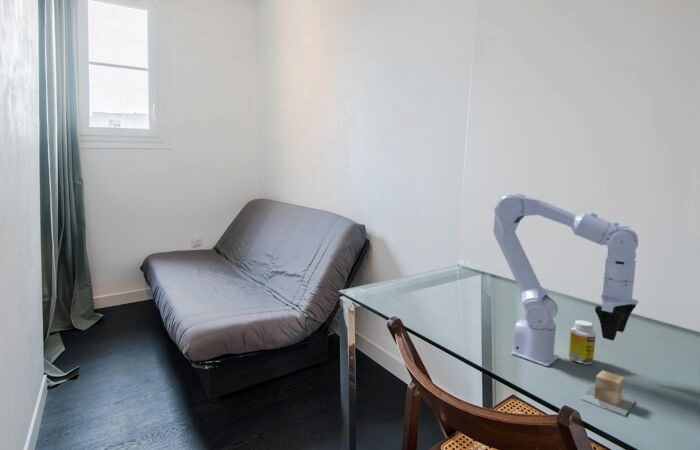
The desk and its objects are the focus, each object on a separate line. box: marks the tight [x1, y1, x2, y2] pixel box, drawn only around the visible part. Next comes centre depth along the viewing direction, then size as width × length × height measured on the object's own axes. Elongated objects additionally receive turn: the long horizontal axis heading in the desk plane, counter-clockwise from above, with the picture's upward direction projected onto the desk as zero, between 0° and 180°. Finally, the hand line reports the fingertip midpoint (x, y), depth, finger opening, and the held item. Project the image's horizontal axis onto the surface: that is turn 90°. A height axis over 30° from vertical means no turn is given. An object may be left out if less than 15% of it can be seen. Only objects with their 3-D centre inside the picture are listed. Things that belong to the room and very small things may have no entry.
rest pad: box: [584, 385, 637, 417], centre depth 82 cm, size 8×8×1 cm
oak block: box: [594, 370, 625, 406], centre depth 82 cm, size 4×4×5 cm
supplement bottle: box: [568, 319, 597, 365], centre depth 100 cm, size 6×6×10 cm
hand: (613, 334), depth 91 cm, fingers open, 7 cm apart
